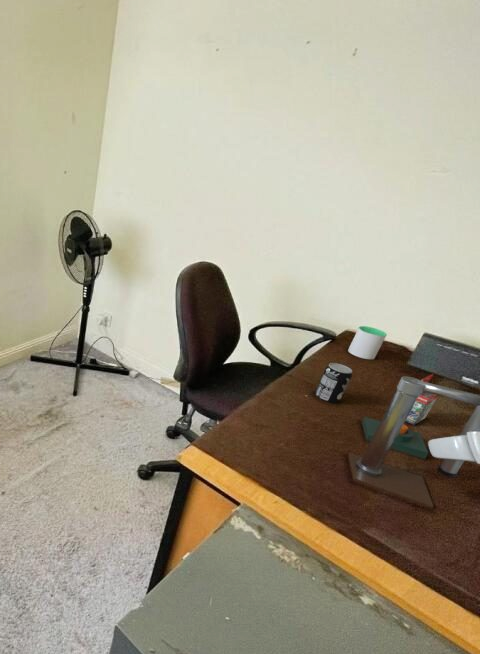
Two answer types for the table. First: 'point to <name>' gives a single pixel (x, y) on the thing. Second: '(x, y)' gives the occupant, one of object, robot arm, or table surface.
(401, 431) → the button
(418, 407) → the ink box
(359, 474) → the slanted pole stand
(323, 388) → the beverage can
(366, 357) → the mug
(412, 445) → the button box
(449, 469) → the spout
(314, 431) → the table surface
